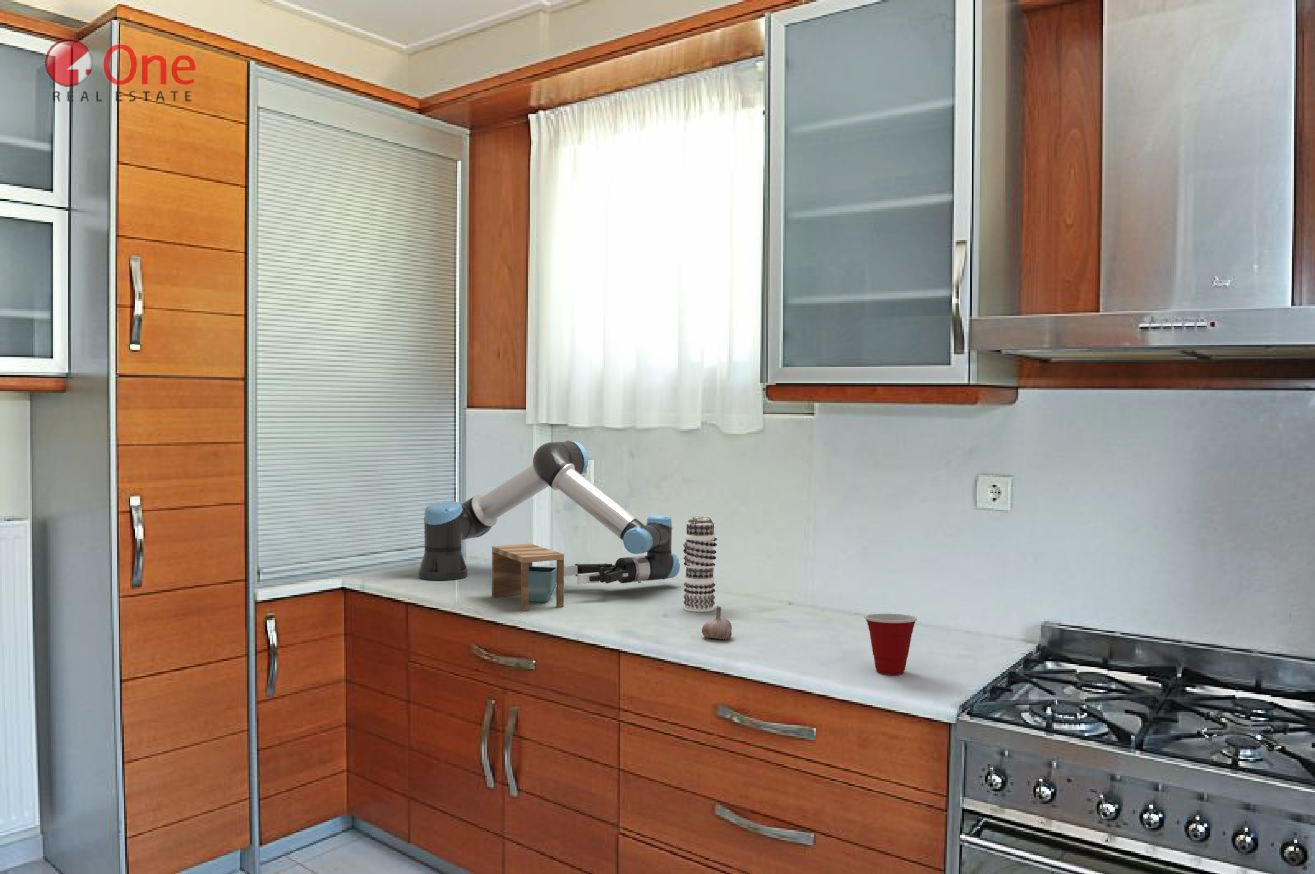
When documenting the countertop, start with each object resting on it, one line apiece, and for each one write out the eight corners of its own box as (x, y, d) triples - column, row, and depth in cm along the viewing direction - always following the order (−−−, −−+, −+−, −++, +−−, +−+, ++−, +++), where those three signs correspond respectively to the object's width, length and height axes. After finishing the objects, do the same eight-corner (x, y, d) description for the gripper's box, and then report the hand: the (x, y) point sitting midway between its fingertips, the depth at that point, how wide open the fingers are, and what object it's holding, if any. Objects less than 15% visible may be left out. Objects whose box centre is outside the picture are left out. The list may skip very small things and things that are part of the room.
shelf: (491, 596, 280) (492, 546, 280) (530, 592, 286) (530, 543, 286) (523, 611, 261) (523, 557, 260) (563, 606, 267) (564, 554, 267)
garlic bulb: (736, 641, 230) (736, 608, 230) (706, 642, 229) (706, 609, 229) (727, 634, 238) (727, 601, 237) (698, 635, 236) (698, 602, 236)
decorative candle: (721, 610, 264) (722, 518, 263) (689, 612, 261) (690, 519, 260) (708, 604, 272) (709, 515, 272) (677, 606, 269) (678, 516, 269)
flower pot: (558, 597, 280) (558, 566, 279) (552, 603, 271) (552, 571, 271) (528, 596, 280) (528, 565, 280) (520, 603, 272) (521, 570, 271)
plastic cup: (903, 663, 211) (904, 609, 211) (924, 677, 201) (926, 620, 200) (855, 665, 210) (856, 610, 209) (874, 679, 199) (875, 621, 199)
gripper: (652, 589, 280) (587, 596, 269) (611, 575, 301) (548, 581, 290) (653, 563, 280) (587, 569, 269) (611, 551, 301) (548, 556, 290)
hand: (567, 575), depth 280 cm, fingers open, 13 cm apart
